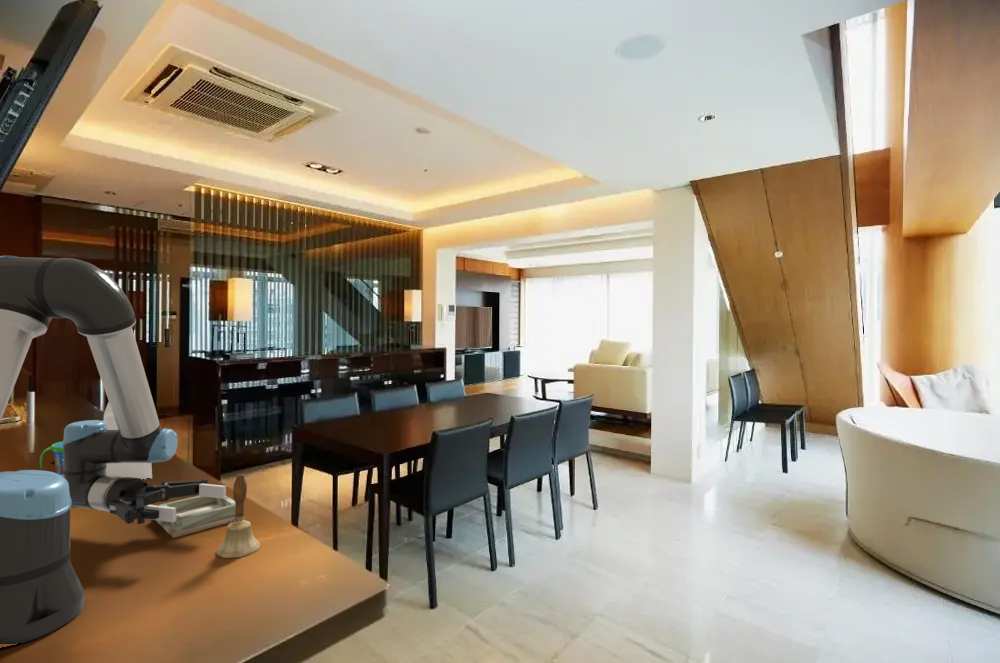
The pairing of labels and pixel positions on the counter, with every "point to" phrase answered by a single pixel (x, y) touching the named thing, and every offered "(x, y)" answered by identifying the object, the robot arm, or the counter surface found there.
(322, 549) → the counter surface
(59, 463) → the snack cup
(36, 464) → the counter surface
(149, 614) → the counter surface
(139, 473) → the milk
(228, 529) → the hand bell
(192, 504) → the rectangular tray
